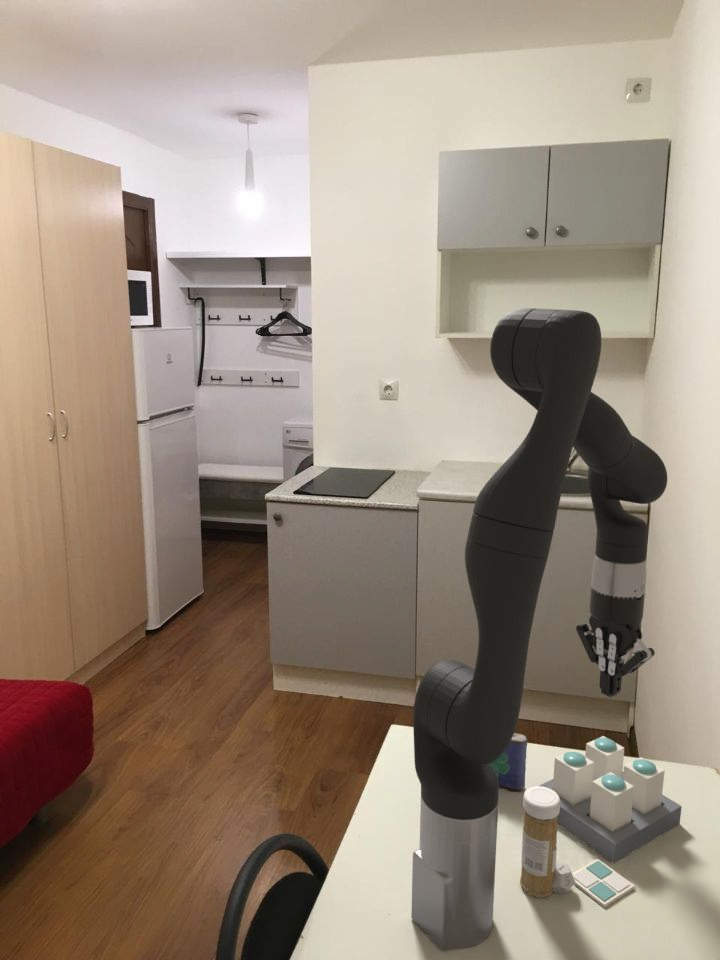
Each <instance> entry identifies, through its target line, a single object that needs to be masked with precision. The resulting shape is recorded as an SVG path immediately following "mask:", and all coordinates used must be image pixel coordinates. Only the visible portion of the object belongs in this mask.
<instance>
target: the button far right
mask: <svg viewBox="0 0 720 960" xmlns="http://www.w3.org/2000/svg"><path fill="white" fill-rule="evenodd" d="M623 780H625V781H626V782H628V783H630V784H631V785H633V786H634V792H633V803H632V808H634V809H635V810H637V811H638V812H640V813H641V814H643V815H647V814H649V813H650V812H652V811H654V810H656V809H657V808H659V807H661V801H662V795H663V790H664V781H665V769H663V768H661V767H660V766H658V765H656V764H655V763H654V762H652V761H650V760H647V759H645V758H643V757H642V756H641V757H638V758H636V759H634V760H632V761H630V762H628V763H627V764H623Z"/></svg>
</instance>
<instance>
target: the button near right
mask: <svg viewBox="0 0 720 960" xmlns="http://www.w3.org/2000/svg"><path fill="white" fill-rule="evenodd" d="M633 792H634V786H633V785H631V784H630V783H628V782H626V781H625V780H623V779H622V778H621V777H619V776H616V775H615V774H613V773H611V772H610V773H608V774H606V775H604V776H602V777H600V778H598V779H596V780H594V781H592V792H591V805H590V818H591V819H592V820H594V821H595V822H597V823H598V824H600V825H601V826H603V827H604V828H606V829H607V830H609V831H610V832H612V833H615V832H617V831H618V830H620V829H622V828H624V827H625V826H627V825H629V824H631V814H632V803H633Z"/></svg>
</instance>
